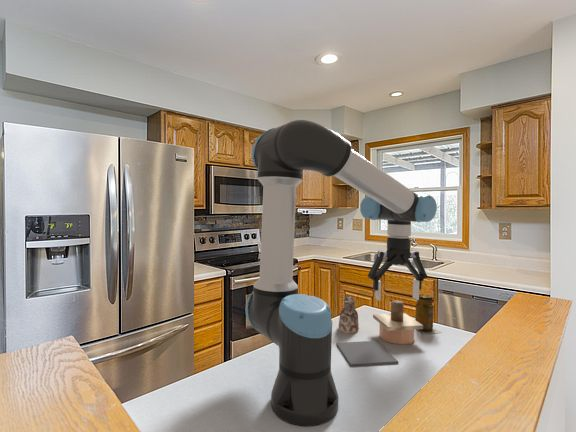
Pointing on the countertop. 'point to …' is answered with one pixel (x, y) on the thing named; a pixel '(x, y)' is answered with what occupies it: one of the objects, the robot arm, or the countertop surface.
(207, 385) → the countertop surface
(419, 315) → the condiment
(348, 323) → the figurine
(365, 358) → the mat
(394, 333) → the bowl
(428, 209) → the robot arm
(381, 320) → the lid
